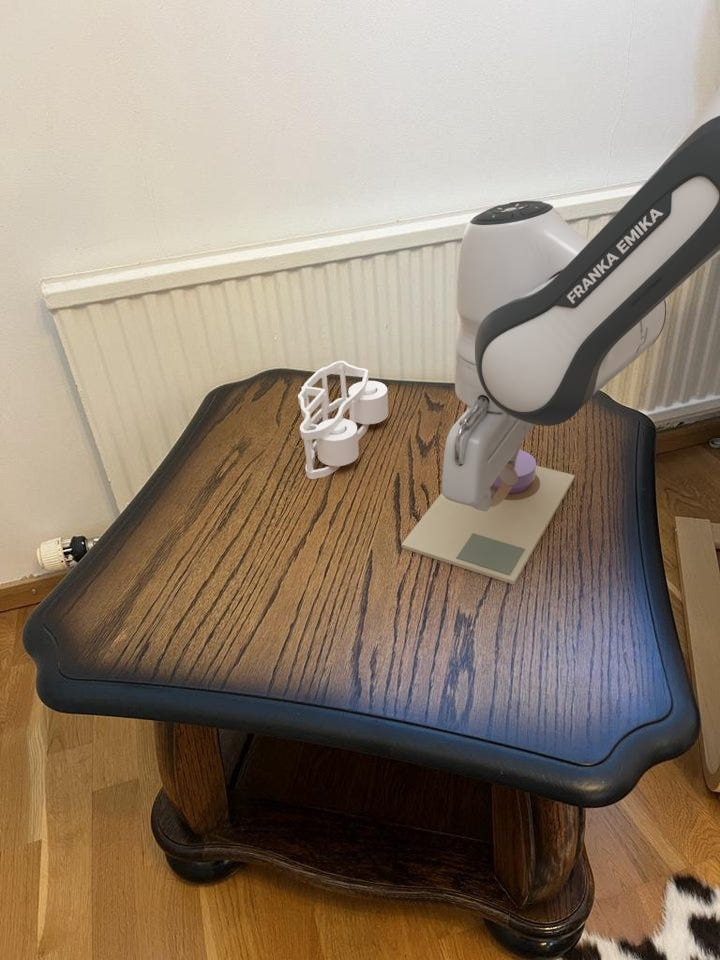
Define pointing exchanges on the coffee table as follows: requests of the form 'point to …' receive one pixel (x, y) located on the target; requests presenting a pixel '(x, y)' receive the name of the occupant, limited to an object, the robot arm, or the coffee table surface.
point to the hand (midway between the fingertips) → (494, 489)
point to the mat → (491, 528)
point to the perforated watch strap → (505, 483)
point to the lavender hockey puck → (521, 472)
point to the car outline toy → (339, 417)
